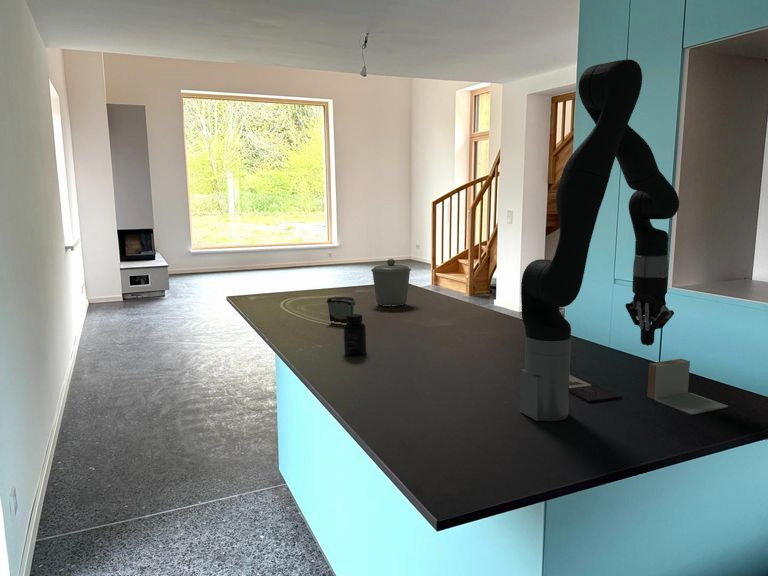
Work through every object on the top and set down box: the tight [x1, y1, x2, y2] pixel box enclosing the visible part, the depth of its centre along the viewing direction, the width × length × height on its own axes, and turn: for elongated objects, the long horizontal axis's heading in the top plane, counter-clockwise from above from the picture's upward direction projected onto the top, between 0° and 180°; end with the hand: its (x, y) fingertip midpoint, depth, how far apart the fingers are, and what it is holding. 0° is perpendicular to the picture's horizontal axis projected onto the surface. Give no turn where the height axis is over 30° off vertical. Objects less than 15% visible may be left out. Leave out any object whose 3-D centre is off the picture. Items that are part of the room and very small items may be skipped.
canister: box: [370, 258, 412, 306], centre depth 249 cm, size 18×18×21 cm
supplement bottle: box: [343, 313, 367, 357], centre depth 169 cm, size 7×7×12 cm
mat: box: [655, 392, 729, 416], centre depth 123 cm, size 11×9×1 cm
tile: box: [646, 358, 691, 400], centre depth 128 cm, size 10×2×8 cm, turn 111°
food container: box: [326, 296, 356, 323], centre depth 213 cm, size 12×6×10 cm, turn 58°
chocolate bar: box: [569, 374, 623, 404], centre depth 135 cm, size 9×1×18 cm
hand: (647, 344), depth 134 cm, fingers closed
